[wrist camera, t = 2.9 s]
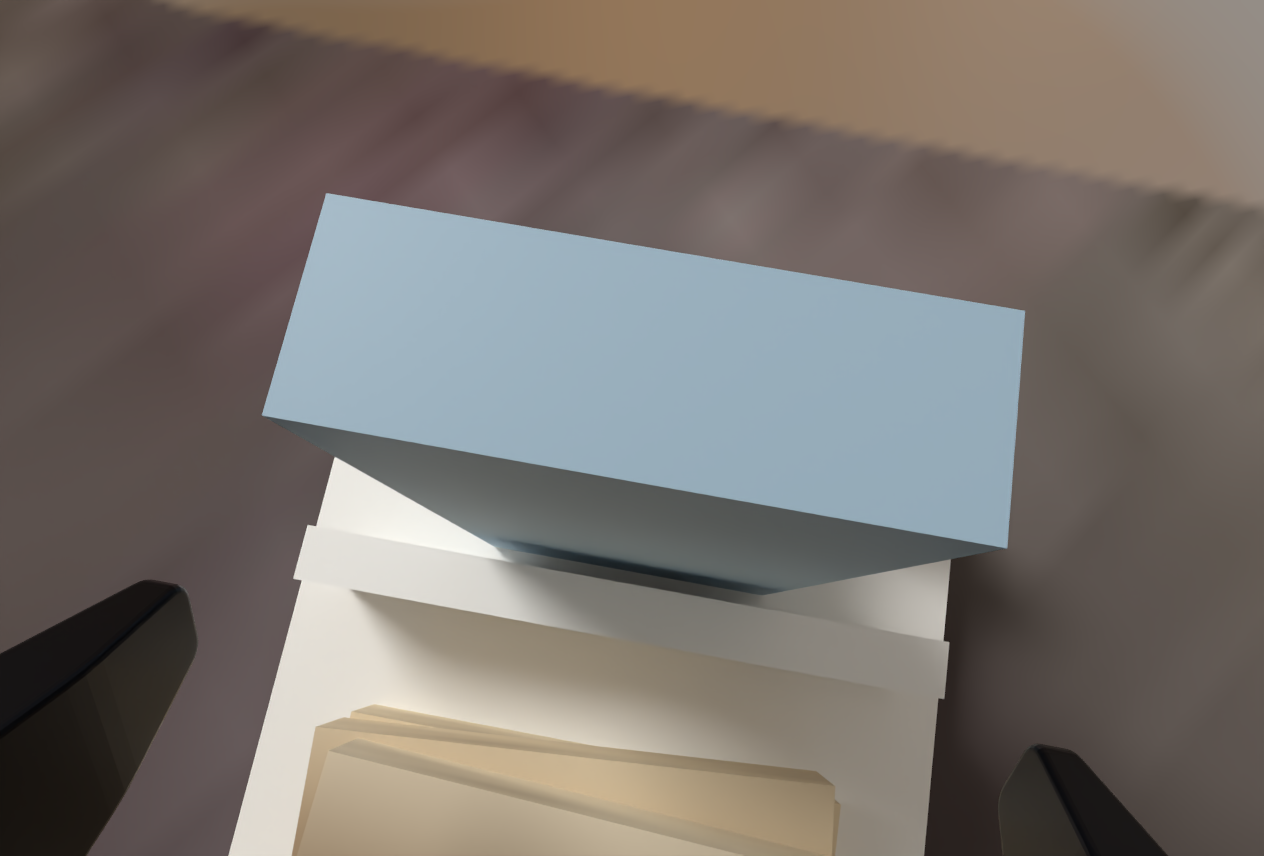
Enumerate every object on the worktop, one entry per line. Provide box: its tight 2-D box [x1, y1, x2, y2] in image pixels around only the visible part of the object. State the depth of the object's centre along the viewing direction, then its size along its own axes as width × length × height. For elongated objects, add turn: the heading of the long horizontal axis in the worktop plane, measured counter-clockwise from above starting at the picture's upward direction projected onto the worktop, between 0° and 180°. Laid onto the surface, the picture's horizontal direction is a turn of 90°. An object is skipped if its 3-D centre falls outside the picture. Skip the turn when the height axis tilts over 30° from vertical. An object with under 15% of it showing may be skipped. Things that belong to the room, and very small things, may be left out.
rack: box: [229, 457, 951, 856], centre depth 17 cm, size 16×14×4 cm
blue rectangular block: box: [262, 193, 1025, 595], centre depth 13 cm, size 2×6×12 cm, turn 80°
